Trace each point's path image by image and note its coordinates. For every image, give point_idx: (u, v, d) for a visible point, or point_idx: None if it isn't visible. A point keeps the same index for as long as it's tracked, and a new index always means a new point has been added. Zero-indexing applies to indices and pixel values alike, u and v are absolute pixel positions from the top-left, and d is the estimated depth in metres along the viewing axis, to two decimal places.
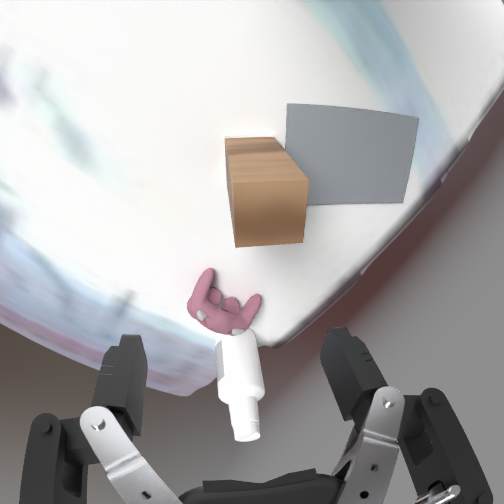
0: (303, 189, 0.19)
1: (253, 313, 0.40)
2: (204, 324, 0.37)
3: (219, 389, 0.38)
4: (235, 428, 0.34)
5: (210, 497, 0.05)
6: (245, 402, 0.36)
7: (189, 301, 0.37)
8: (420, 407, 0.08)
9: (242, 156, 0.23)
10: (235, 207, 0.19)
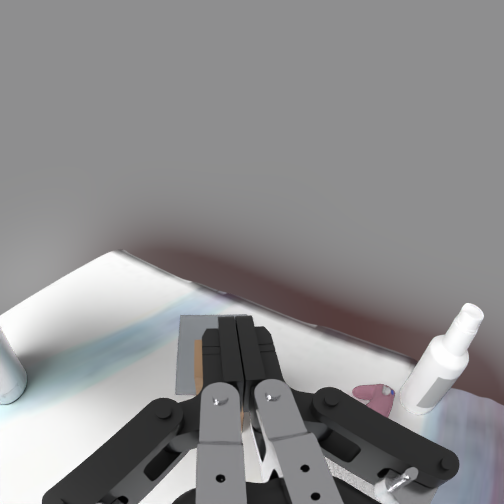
0: (201, 341, 0.29)
1: (366, 386, 0.36)
2: None
3: (453, 372, 0.28)
4: (471, 327, 0.27)
5: None
6: (447, 341, 0.30)
7: None
8: (320, 416, 0.08)
9: None
10: None
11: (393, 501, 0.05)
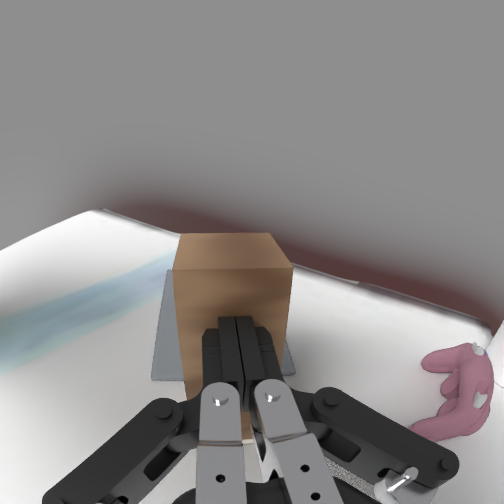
0: (193, 235, 0.16)
1: (445, 351, 0.21)
2: (490, 388, 0.14)
3: None
4: None
5: None
6: None
7: (468, 431, 0.13)
8: (319, 416, 0.08)
9: None
10: (215, 268, 0.12)
11: (393, 501, 0.05)
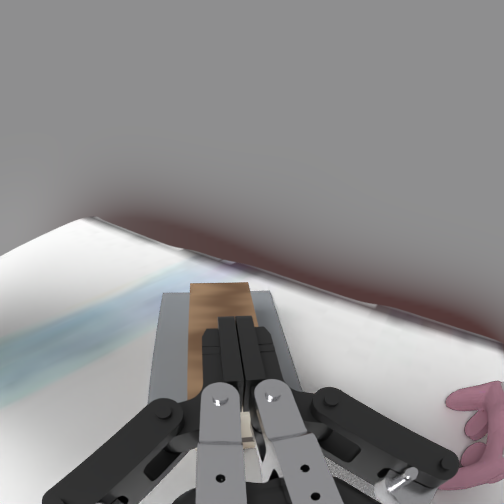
0: None
1: (472, 389, 0.17)
2: None
3: None
4: None
5: None
6: None
7: (494, 480, 0.09)
8: (320, 416, 0.08)
9: None
10: (210, 284, 0.25)
11: (393, 500, 0.05)
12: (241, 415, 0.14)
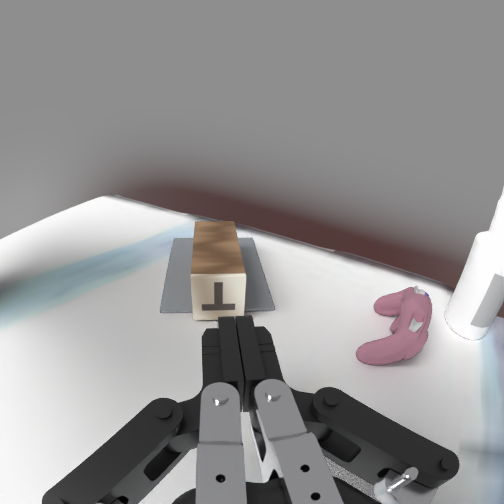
0: None
1: (392, 294, 0.29)
2: (426, 318, 0.22)
3: None
4: None
5: None
6: (496, 227, 0.23)
7: (408, 353, 0.21)
8: (320, 416, 0.08)
9: None
10: (208, 222, 0.37)
11: (393, 501, 0.05)
12: (223, 277, 0.26)
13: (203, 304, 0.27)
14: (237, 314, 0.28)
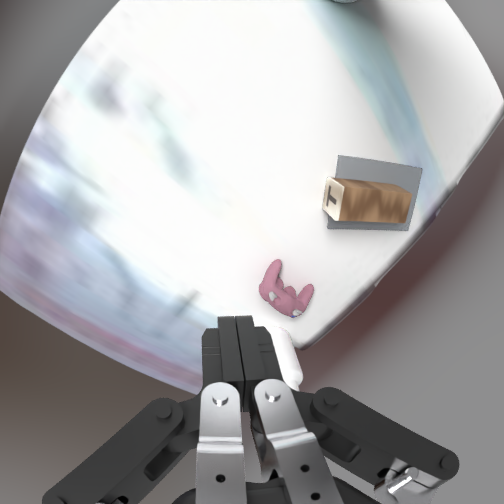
0: None
1: (309, 298, 0.49)
2: (273, 304, 0.46)
3: None
4: None
5: None
6: (290, 384, 0.44)
7: (261, 285, 0.46)
8: (320, 416, 0.08)
9: (379, 188, 0.40)
10: (409, 204, 0.41)
11: (393, 501, 0.05)
12: (337, 206, 0.39)
13: (330, 187, 0.41)
14: (324, 205, 0.44)
